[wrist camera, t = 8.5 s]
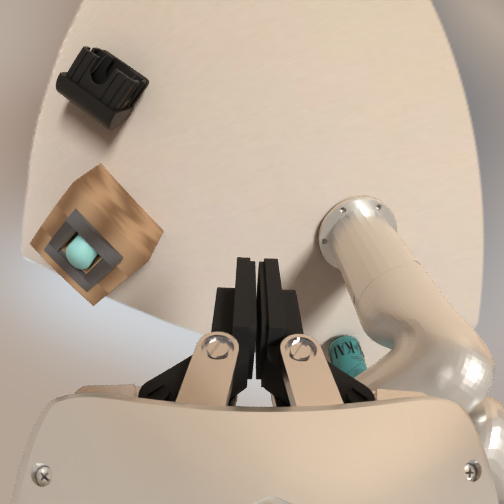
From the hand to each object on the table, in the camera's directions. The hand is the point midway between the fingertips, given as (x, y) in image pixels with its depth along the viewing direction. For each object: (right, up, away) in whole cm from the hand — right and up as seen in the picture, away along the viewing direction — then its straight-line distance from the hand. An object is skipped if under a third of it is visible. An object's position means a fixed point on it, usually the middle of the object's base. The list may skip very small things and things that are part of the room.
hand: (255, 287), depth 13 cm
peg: (-23, +6, +30) cm, 38 cm away
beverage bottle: (+18, -16, +44) cm, 50 cm away
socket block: (-23, +6, +31) cm, 39 cm away
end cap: (-19, +24, +20) cm, 36 cm away
